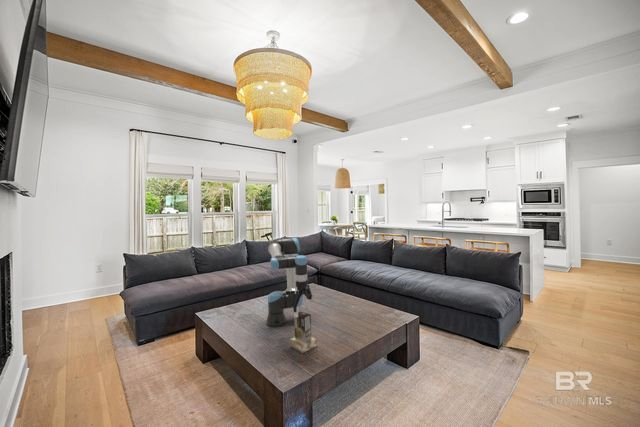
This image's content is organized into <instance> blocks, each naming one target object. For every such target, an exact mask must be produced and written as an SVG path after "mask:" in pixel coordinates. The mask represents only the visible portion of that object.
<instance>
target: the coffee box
mask: <svg viewBox="0 0 640 427" xmlns="http://www.w3.org/2000/svg"><path fill="white" fill-rule="evenodd" d="M311 316H312V315H311V313H307V312H303V311H298V317H294V316H293V318H294V320H293V321H294V335H295V336H294V337H295V339H297V340H300V341H303V342H305V343H306V342H307V341H309V340H310V339H311V336H312V324H311V323H312V322H311V321H312V319H311V318H312V317H311Z"/></svg>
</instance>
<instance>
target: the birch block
mask: <svg viewBox="0 0 640 427" xmlns="http://www.w3.org/2000/svg"><path fill="white" fill-rule="evenodd" d="M317 340H318V339H317V338H316V337H314V336H312V335H311V339H310V340H309V341H307V342H306V343H305V342H303V341H300V340H297V339H295V336H294V337H292V338H290V340H289V341H290V342H289V343H290V347H291V348H293V349H295V350H296V351H298V352H300V353H301V354H303V353H306V352H307V351H309V350H311V349H313V348H316V347H317V345H318V344H317Z"/></svg>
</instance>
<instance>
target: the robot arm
mask: <svg viewBox="0 0 640 427" xmlns="http://www.w3.org/2000/svg"><path fill="white" fill-rule="evenodd" d="M299 241H300V240H298V238H297V237H281V238H276V239H273V240H272V241H271V242H270V243H269V245H268V247H267V250H268V253H269V255H271V258H270V260H269V263H270V269H271V270H275V271H276V270H284V269H286V273H285V274H286V287H287V288H286V289H285V292H283V291H282V290H275V291H272V292H270V293H269V294H268V296H267V303H268V304H267V306H268V309H267V310H268V314H267V317H266V326H268V327H271V328H278V327H279V328H280V327H282V326H284V325H286V323H287V317H286V315H285V312H284V311H285V309H293V318H294V317H298V312H299V308H300V307H302V305H303V302H304V301H303V300H304V296H305V298H306V299H305V302H306V303H305V304H306V307H305V308H306V310H311V300H313V294H312V291H311V288H310V284H308V258H307V255H303V254H301V255H300V254H299V252H300V251H301V250H300V248H301V246H300V242H299Z"/></svg>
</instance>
